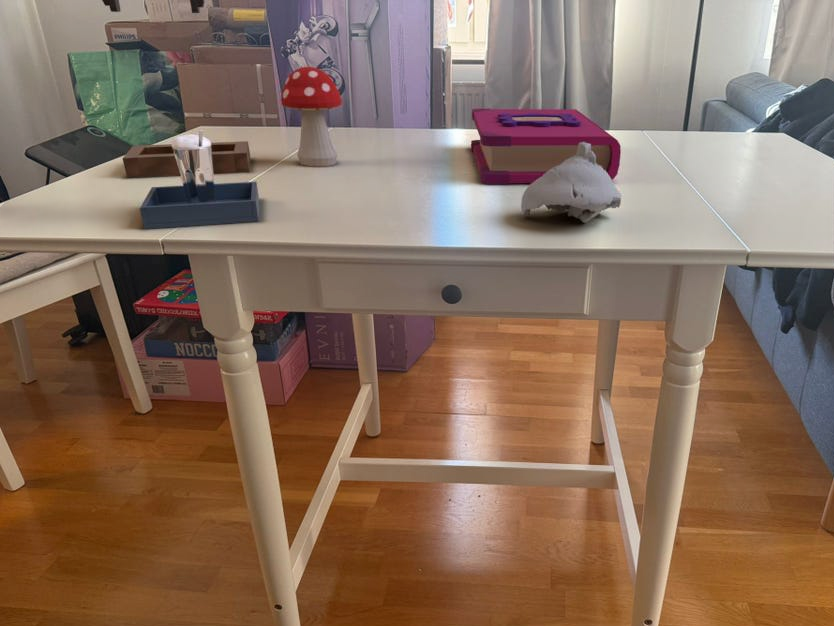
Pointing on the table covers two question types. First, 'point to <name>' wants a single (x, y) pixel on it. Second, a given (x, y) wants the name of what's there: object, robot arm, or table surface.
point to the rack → (164, 162)
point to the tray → (200, 206)
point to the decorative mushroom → (312, 113)
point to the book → (536, 143)
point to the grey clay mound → (573, 187)
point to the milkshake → (195, 167)
